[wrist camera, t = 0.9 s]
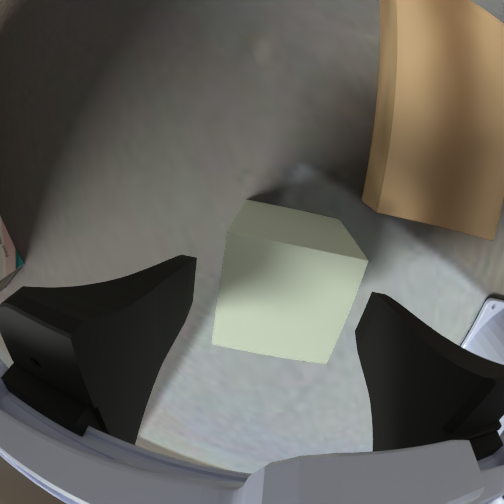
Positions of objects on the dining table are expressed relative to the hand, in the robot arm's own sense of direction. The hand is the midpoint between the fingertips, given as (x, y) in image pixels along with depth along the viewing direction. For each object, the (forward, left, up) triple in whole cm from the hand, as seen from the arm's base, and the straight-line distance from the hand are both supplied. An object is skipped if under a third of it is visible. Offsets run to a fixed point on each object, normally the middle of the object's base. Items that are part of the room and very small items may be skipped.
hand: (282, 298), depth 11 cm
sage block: (0, 0, -5) cm, 5 cm away
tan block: (-7, -11, -5) cm, 14 cm away
